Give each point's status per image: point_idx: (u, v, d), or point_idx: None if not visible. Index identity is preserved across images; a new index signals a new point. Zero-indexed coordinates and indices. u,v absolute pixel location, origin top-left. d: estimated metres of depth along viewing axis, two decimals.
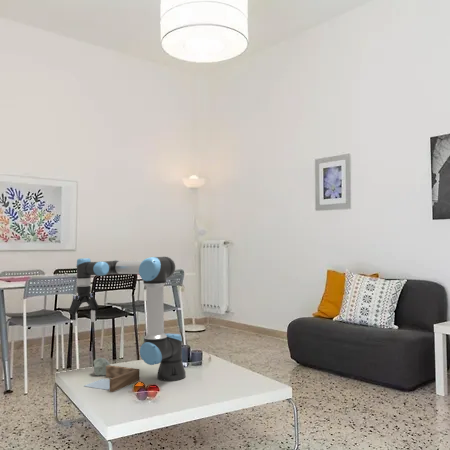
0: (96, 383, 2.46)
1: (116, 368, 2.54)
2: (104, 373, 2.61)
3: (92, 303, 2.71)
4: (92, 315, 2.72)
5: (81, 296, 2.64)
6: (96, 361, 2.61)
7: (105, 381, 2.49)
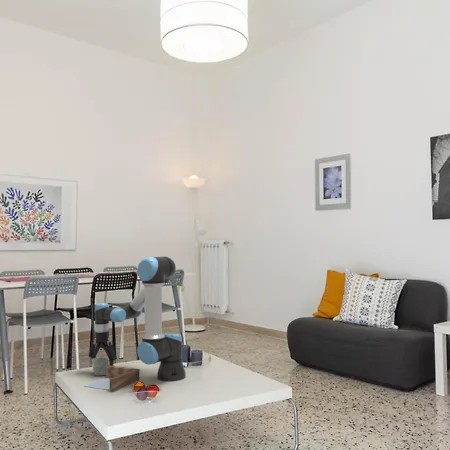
0: (96, 383, 2.46)
1: (116, 368, 2.54)
2: (104, 373, 2.60)
3: (107, 352, 2.62)
4: None
5: (96, 341, 2.66)
6: (96, 361, 2.61)
7: (105, 381, 2.49)
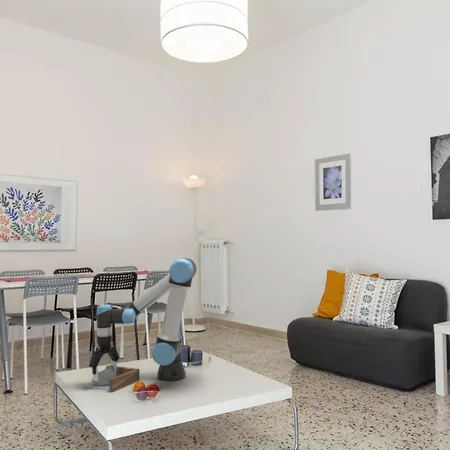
0: None
1: (116, 368, 2.54)
2: None
3: (113, 353, 2.49)
4: (113, 366, 2.50)
5: (102, 347, 2.42)
6: (112, 369, 2.42)
7: None
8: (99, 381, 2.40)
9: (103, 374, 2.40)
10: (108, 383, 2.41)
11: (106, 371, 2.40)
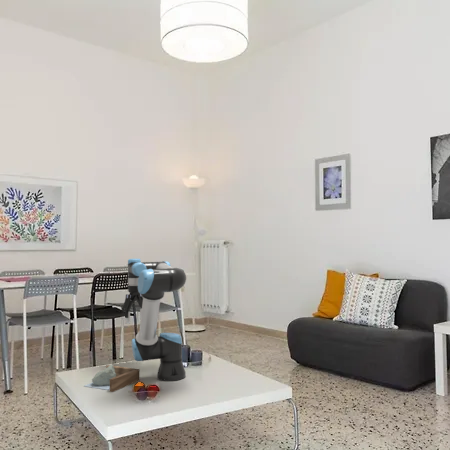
0: None
1: (116, 368, 2.54)
2: None
3: (142, 302, 2.81)
4: None
5: (133, 295, 2.74)
6: (112, 369, 2.42)
7: None
8: (99, 381, 2.40)
9: (103, 374, 2.40)
10: (108, 383, 2.41)
11: (106, 371, 2.40)
